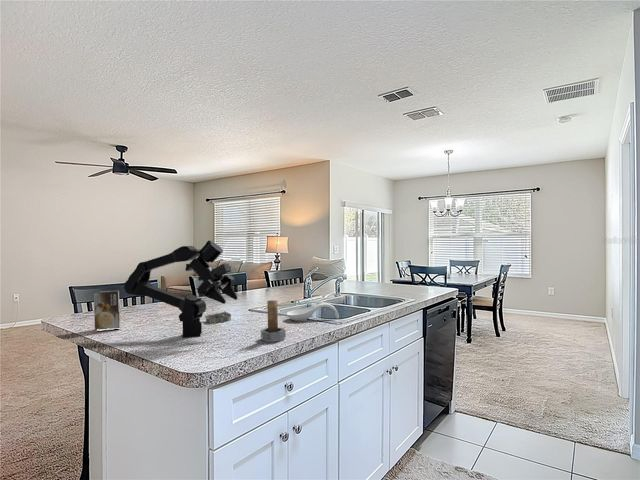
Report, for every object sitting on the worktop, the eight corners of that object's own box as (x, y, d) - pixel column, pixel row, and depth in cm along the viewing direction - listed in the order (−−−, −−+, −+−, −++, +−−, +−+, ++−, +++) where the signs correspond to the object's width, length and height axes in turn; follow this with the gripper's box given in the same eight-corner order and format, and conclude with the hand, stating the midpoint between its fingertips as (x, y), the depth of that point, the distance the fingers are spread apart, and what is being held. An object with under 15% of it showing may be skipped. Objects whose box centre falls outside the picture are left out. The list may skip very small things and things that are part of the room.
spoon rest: (286, 323, 164) (286, 307, 164) (286, 318, 176) (285, 302, 176) (340, 321, 167) (340, 304, 167) (336, 316, 179) (336, 300, 179)
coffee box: (120, 327, 163) (120, 289, 163) (119, 330, 157) (119, 291, 157) (96, 329, 159) (95, 291, 159) (94, 332, 153) (93, 293, 153)
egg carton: (210, 324, 165) (210, 315, 165) (203, 322, 171) (203, 313, 171) (233, 320, 172) (232, 311, 172) (225, 318, 178) (225, 309, 178)
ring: (263, 343, 132) (263, 333, 132) (259, 337, 140) (259, 328, 140) (287, 340, 134) (287, 331, 134) (281, 335, 142) (281, 326, 142)
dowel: (271, 338, 134) (271, 302, 135) (266, 336, 137) (265, 301, 137) (280, 336, 137) (279, 300, 137) (274, 335, 140) (273, 299, 140)
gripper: (204, 257, 134) (233, 289, 131) (229, 255, 152) (255, 283, 149) (184, 279, 136) (212, 311, 133) (211, 274, 154) (237, 302, 151)
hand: (231, 300), depth 141 cm, fingers open, 9 cm apart
